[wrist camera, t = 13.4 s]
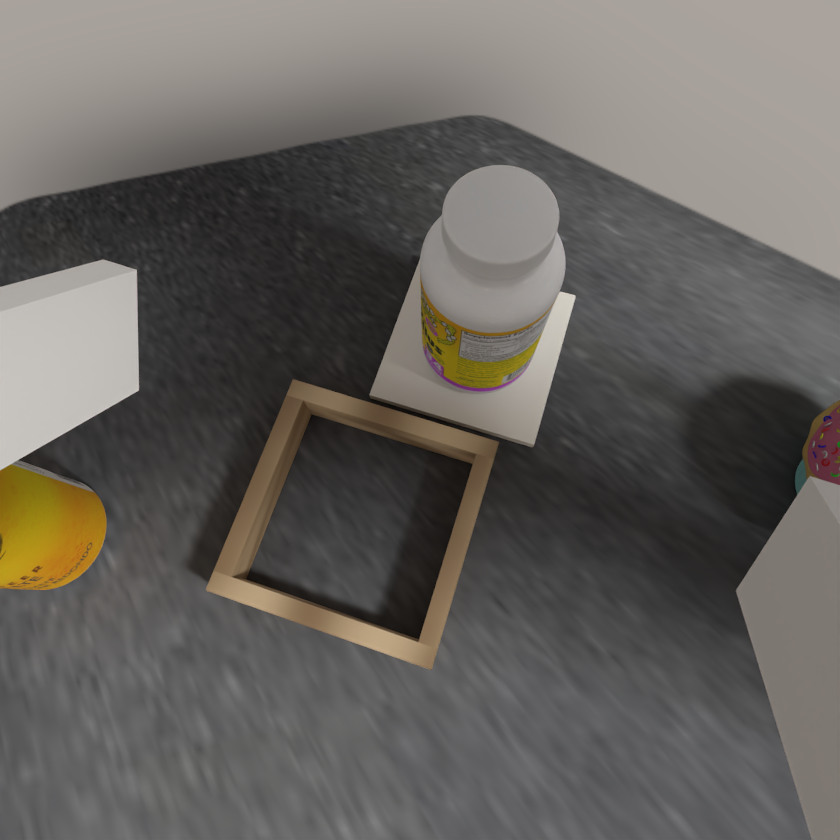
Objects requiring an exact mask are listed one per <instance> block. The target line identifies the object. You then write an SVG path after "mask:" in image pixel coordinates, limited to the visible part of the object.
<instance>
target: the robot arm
mask: <svg viewBox="0 0 840 840" xmlns="http://www.w3.org/2000/svg"><path fill="white" fill-rule="evenodd" d="M137 391H139V365H138V311H137V270H136V269H133V268H129V267H126V266H123V265H119V264H116V263H113V262H110V261H106V260H100V261H96V262H92V263H88V264H85V265H81V266H77V267H73V268H70V269H66V270H62V271H59V272H55V273H51V274H47V275H44V276H40V277H36V278H32V279H29V280H25V281H21V282H17V283H14V284H10V285H6V286H2V287H0V470H1V469H3V468H5V467H7V466H8V465H10V464H12V463H14V462H15V461H17V460H19V459H21V458H22V457H24V456H26V455H28V454H29V453H31V452H33V451H34V450H36V449H38V448H40V447H41V446H43V445H45V444H47V443H48V442H50V441H52V440H54V439H55V438H57V437H59V436H61V435H62V434H64V433H66V432H68V431H69V430H71V429H73V428H74V427H76V426H78V425H80V424H81V423H83V422H85V421H87V420H88V419H90V418H92V417H94V416H95V415H97V414H99V413H101V412H102V411H104V410H106V409H107V408H109V407H111V406H113V405H114V404H116V403H118V402H120V401H121V400H123V399H125V398H127V397H128V396H130V395H132V394H134V393H135V392H137ZM736 593H737V596H738V600H739V603H740V606H741V609H742V613H743V616H744V619H745V622H746V626H747V629H748V632H749V636H750V639H751V642H752V645H753V649H754V652H755V655H756V659H757V662H758V665H759V668H760V672H761V675H762V678H763V681H764V685H765V688H766V691H767V695H768V698H769V701H770V704H771V708H772V711H773V714H774V717H775V721H776V724H777V727H778V731H779V734H780V737H781V740H782V744H783V747H784V750H785V754H786V757H787V760H788V763H789V767H790V770H791V773H792V776H793V780H794V783H795V786H796V790H797V793H798V796H799V799H800V803H801V806H802V809H803V812H804V816H805V819H806V822H807V826H808V829H809V832H810V835H811V839H812V840H840V485H837V484H834V483H831V482H828V481H824V480H821V479H818V478H815V477H811V476H809V478H808V479H807V481H806V482H805V484H804V486H803V487H802V489H801V490H800V492H799V493H798V495H797V496H796V498H795V500H794V501H793V503H792V504H791V506H790V507H789V509H788V510H787V512H786V513H785V515H784V517H783V518H782V520H781V521H780V523H779V524H778V526H777V527H776V529H775V531H774V532H773V534H772V535H771V537H770V538H769V540H768V541H767V543H766V545H765V546H764V548H763V549H762V551H761V552H760V554H759V555H758V557H757V558H756V560H755V562H754V563H753V565H752V566H751V568H750V569H749V571H748V572H747V574H746V576H745V577H744V579H743V580H742V582H741V583H740V585H739V586H738V588H737V590H736Z"/></svg>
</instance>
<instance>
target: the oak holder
mask: <svg viewBox="0 0 840 840" xmlns="http://www.w3.org/2000/svg"><path fill="white" fill-rule="evenodd" d="M312 414H313V415H316V416H319V417H323V418H326V419H329V420H332V421H336V422H339V423H342V424H345V425H348V426H352V427H355V428H358V429H361V430H365V431H368V432H371V433H374V434H377V435H381V436H384V437H387V438H390V439H394V440H397V441H400V442H403V443H406V444H410V445H413V446H416V447H419V448H423V449H426V450H429V451H432V452H435V453H439V454H442V455H445V456H448V457H452V458H455V459H458V460H461V461H464V462H468V463H471V464H473V465H472V469H471V472H470V475H469V478H468V482H467V485H466V488H465V491H464V495H463V498H462V501H461V504H460V508H459V511H458V514H457V517H456V521H455V524H454V527H453V530H452V534H451V537H450V540H449V543H448V547H447V550H446V553H445V557H444V560H443V563H442V566H441V570H440V573H439V576H438V579H437V583H436V586H435V589H434V592H433V596H432V599H431V602H430V605H429V609H428V612H427V615H426V618H425V622H424V625H423V628H422V631H421V635H420V638H419V639H416V638H413V637H410V636H408V635H405V634H402V633H399V632H396V631H393V630H390V629H387V628H385V627H382V626H379V625H376V624H373V623H370V622H367V621H365V620H362V619H359V618H356V617H353V616H350V615H347V614H344V613H342V612H339V611H336V610H333V609H330V608H327V607H324V606H321V605H319V604H316V603H313V602H310V601H307V600H304V599H301V598H298V597H296V596H293V595H290V594H287V593H284V592H281V591H278V590H275V589H273V588H270V587H267V586H264V585H261V584H258V583H255V582H252V581H250V580H247V579H246V578H247V576H248V573H249V571H250V568H251V566H252V563H253V561H254V558H255V556H256V553H257V551H258V548H259V546H260V543H261V540H262V538H263V535H264V533H265V530H266V528H267V525H268V523H269V520H270V518H271V515H272V513H273V510H274V508H275V505H276V503H277V500H278V498H279V495H280V493H281V490H282V488H283V485H284V483H285V480H286V478H287V475H288V473H289V470H290V468H291V465H292V463H293V460H294V457H295V455H296V452H297V450H298V447H299V445H300V442H301V440H302V437H303V435H304V432H305V430H306V427H307V425H308V422H309V420H310V417H311V415H312ZM498 444H499V442H498V441H495V440H491V439H488V438H485V437H481V436H478V435H475V434H472V433H468V432H465V431H462V430H458V429H455V428H452V427H449V426H445V425H442V424H439V423H435V422H432V421H429V420H426V419H422V418H419V417H416V416H412V415H409V414H406V413H403V412H399V411H396V410H393V409H389V408H386V407H383V406H380V405H376V404H373V403H370V402H367V401H363V400H360V399H357V398H353V397H350V396H347V395H344V394H340V393H337V392H334V391H330V390H327V389H324V388H321V387H317V386H314V385H311V384H307V383H304V382H301V381H298V380H294V379H293V380H292V383H291V385H290V388H289V390H288V392H287V395H286V397H285V400H284V402H283V404H282V407H281V409H280V412H279V414H278V417H277V419H276V421H275V424H274V426H273V429H272V431H271V433H270V436H269V438H268V441H267V443H266V445H265V448H264V450H263V453H262V455H261V458H260V460H259V462H258V465H257V467H256V470H255V472H254V474H253V477H252V479H251V482H250V484H249V486H248V489H247V491H246V494H245V496H244V499H243V501H242V503H241V506H240V508H239V511H238V513H237V515H236V518H235V520H234V523H233V525H232V527H231V530H230V532H229V535H228V537H227V540H226V542H225V544H224V547H223V549H222V552H221V554H220V556H219V559H218V561H217V564H216V566H215V568H214V571H213V573H212V576H211V578H210V581H209V583H208V585H207V588H206V591H209V592H212V593H215V594H218V595H220V596H223V597H226V598H229V599H232V600H235V601H237V602H240V603H243V604H246V605H249V606H252V607H254V608H257V609H260V610H263V611H266V612H269V613H271V614H274V615H277V616H280V617H283V618H286V619H288V620H291V621H294V622H297V623H300V624H303V625H305V626H308V627H311V628H314V629H317V630H320V631H322V632H325V633H328V634H331V635H334V636H337V637H339V638H342V639H345V640H348V641H351V642H354V643H356V644H359V645H362V646H365V647H368V648H371V649H373V650H376V651H379V652H382V653H385V654H388V655H390V656H393V657H396V658H399V659H402V660H405V661H407V662H410V663H413V664H416V665H419V666H422V667H424V668H427V669H430V670H432V666H433V663H434V660H435V656H436V653H437V650H438V646H439V643H440V639H441V636H442V633H443V629H444V626H445V623H446V619H447V616H448V613H449V609H450V606H451V602H452V599H453V596H454V592H455V589H456V586H457V582H458V579H459V575H460V572H461V569H462V565H463V562H464V559H465V555H466V552H467V549H468V545H469V542H470V538H471V535H472V532H473V528H474V525H475V522H476V518H477V515H478V511H479V508H480V505H481V501H482V498H483V495H484V491H485V488H486V485H487V481H488V478H489V474H490V471H491V468H492V464H493V461H494V458H495V454H496V451H497V447H498Z"/></svg>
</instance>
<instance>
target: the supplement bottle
mask: <svg viewBox="0 0 840 840" xmlns="http://www.w3.org/2000/svg"><path fill="white" fill-rule="evenodd" d="M558 223H559V209H558V204H557V201H556V199H555V196H554V194H553V193H552V191H551V190H550V188H549V187H548V186H547V185H546V184H545V182H543V181H542V180H541V179H540V178H539V177H537V176H536V175H534V174H532V173H531V172H529V171H527V170H524V169H521V168H518V167H514V166H507V165H493V166H486V167H483V168H479V169H476V170H473V171H471V172H469V173H467V174H466V175H464V176H463V177H461V178H460V179H459V180H458V181H457V182H456V183H455V184H454V185H453V186H452V187H451V189H450V190H449V192H448V194H447V196H446V198H445V201H444V205H443V210H442V215H441V216H440V217H439V218H438V219H437V220H436V222H435V223H434V224H433V226H432V227H431V228H430V230H429V232H428V234H427V236H426V238H425V240H424V243H423V246H422V250H421V256H420V285H421V324H422V344H423V351H424V355H425V358H426V360H427V363H428V365H429V366H430V368H431V370H432V371H433V372H434V373H435V375H436V376H437V377H438V378H439V379H440V380H441V381H443V382H444V383H445V384H447V385H448V386H450V387H452V388H454V389H456V390H459V391H462V392H465V393H470V394H486V393H492V392H496V391H499V390H502V389H504V388H506V387H508V386H510V385H511V384H513V383H514V382H515V381H517V380H518V379H519V378H520V377H521V376H522V375H523V373H524V372H525V371H526V369H527V368H528V366H529V364H530V362H531V360H532V358H533V355H534V353H535V351H536V348H537V345H538V343H539V340H540V338H541V335H542V333H543V330H544V328H545V325H546V323H547V320H548V318H549V315H550V313H551V310H552V308H553V305H554V303H555V301H556V298H557V296H558V294H559V291H560V289H561V286H562V283H563V279H564V274H565V253H564V248H563V244H562V241H561V239H560V237H559V235H558V233H557V228H558Z"/></svg>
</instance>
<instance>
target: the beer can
mask: <svg viewBox="0 0 840 840" xmlns="http://www.w3.org/2000/svg"><path fill="white" fill-rule="evenodd" d="M106 527H107V523H106V513H105V510H104V507H103V504H102V502H101V500H100V498H99V497H98V496H97V494H96V493H95V492H94V491H93V490H92V489H91V488H89V487H88V486H87V485H85V484H83V483H81V482H78V481H76V480H73V479H70V478H67V477H64V476H62V475H59V474H56V473H53V472H50V471H48V470H45V469H42V468H39V467H36V466H34V465H31V464H28V463H25V462H22V461H19V460H17V461H15V462H14V463H12V464H10V465H8V466H7V467H5V468H3V469H1V470H0V588H5V589H28V590H47V589H53V588H57V587H60V586H63V585H65V584H67V583H69V582H71V581H73V580H74V579H76V578H77V577H79V576H80V575H81V574H83V573H84V572H85V571H86V570H87V569H88V568H89V566H90V565H91V564H92V563H93V562H94V560H95V559H96V557H97V555H98V554H99V552H100V550H101V548H102V545H103V542H104V539H105V535H106Z"/></svg>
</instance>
